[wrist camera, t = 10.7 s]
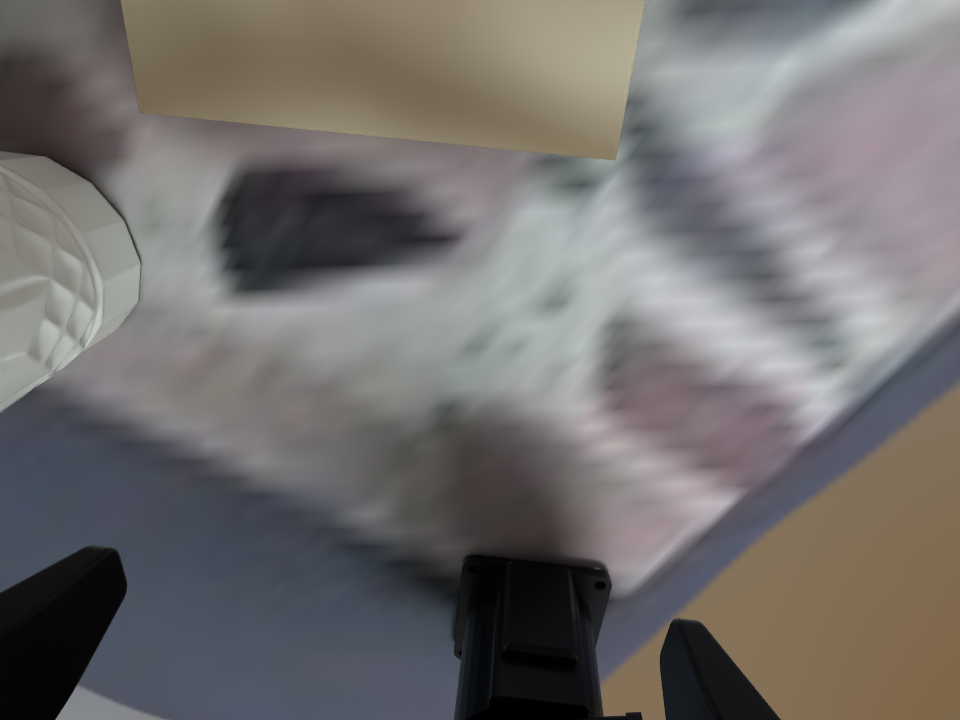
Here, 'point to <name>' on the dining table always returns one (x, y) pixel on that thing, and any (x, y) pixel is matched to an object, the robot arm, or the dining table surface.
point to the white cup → (57, 271)
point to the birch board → (395, 67)
